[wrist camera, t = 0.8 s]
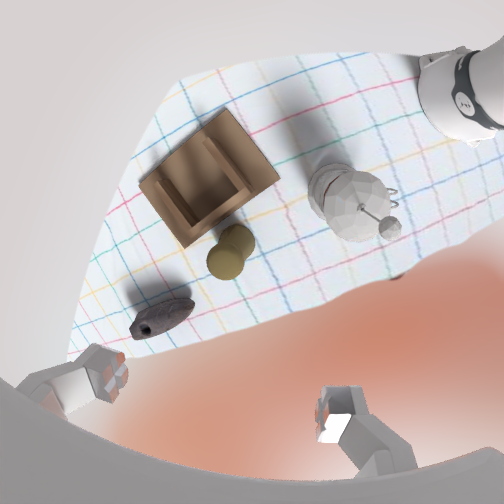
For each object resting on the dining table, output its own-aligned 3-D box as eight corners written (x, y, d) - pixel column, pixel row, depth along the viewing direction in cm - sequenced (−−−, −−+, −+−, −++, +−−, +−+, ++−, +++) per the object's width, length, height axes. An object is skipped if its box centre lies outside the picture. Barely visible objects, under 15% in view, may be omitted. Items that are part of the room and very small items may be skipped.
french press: (303, 166, 41) (322, 169, 18) (373, 159, 39) (460, 161, 16) (311, 227, 44) (335, 299, 21) (379, 219, 42) (459, 278, 19)
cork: (212, 242, 47) (191, 265, 37) (236, 217, 45) (220, 234, 35) (238, 266, 48) (224, 295, 38) (262, 242, 46) (255, 266, 36)
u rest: (228, 110, 40) (219, 103, 35) (280, 178, 42) (279, 180, 37) (140, 185, 46) (124, 188, 40) (186, 247, 48) (174, 257, 43)
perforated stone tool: (192, 286, 51) (179, 303, 44) (205, 309, 52) (195, 329, 45) (136, 308, 54) (120, 325, 48) (149, 328, 55) (134, 346, 49)
